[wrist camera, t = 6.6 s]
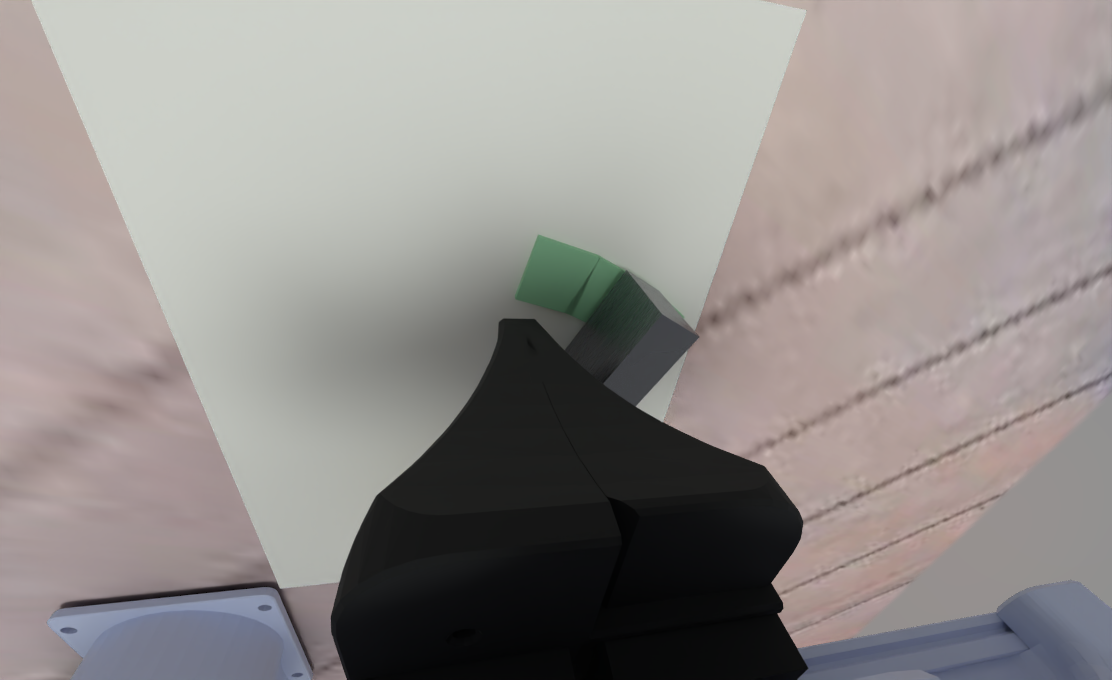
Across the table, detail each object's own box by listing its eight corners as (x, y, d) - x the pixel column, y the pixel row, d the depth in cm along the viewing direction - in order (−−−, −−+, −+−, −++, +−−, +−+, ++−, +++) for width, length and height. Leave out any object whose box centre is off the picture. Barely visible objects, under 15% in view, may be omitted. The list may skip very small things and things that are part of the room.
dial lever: (483, 538, 16) (486, 612, 14) (394, 518, 15) (381, 598, 13) (685, 306, 12) (734, 359, 10) (588, 244, 10) (621, 290, 8)
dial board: (608, 523, 20) (618, 556, 19) (293, 552, 17) (278, 594, 16) (764, 18, 10) (813, 9, 9) (48, -130, 7) (-57, -179, 6)
